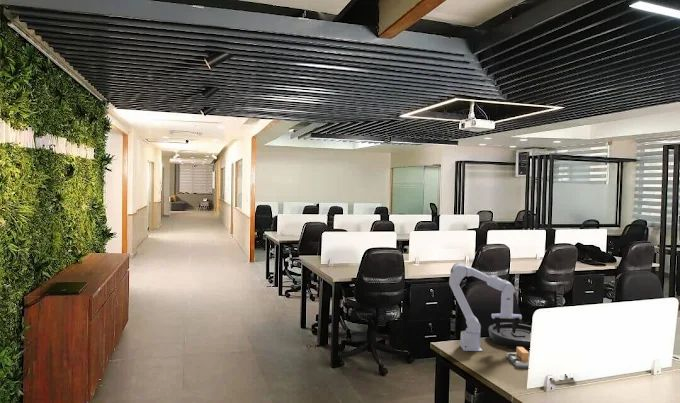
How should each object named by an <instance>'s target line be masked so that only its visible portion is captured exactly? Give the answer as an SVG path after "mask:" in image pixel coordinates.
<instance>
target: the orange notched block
mask: <svg viewBox="0 0 680 403" xmlns="http://www.w3.org/2000/svg"><path fill="white" fill-rule="evenodd" d="M515 350H516V352H515V353H516V356H520V357H521V361H528V359H529V356H530V353H529V350H525V349H524V348H523V347H517V348H516V349H515Z"/></svg>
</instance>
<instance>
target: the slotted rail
mask: <svg viewBox="0 0 680 403" xmlns="http://www.w3.org/2000/svg"><path fill="white" fill-rule="evenodd" d="M506 358H507V359H508V360H509V361H510V363H512V364H513V366H514V367H515V368H516V369H529V368H528V361H521V357H520V356H516V352H509V351H508V352H507V353H506Z"/></svg>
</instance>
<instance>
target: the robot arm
mask: <svg viewBox="0 0 680 403" xmlns="http://www.w3.org/2000/svg"><path fill="white" fill-rule="evenodd" d="M465 277H474V278H477V279H479V280H481V281H483V282H486V284H487V286H489V287H491V288H493V289H494V290H498V291H499V292H500V291H501V296H500V313H499V312H498V313H491V318H492V320H493V321H494V324H496V328H497V332H498V333H500V323H502V322H501V319H507V320H508V319H509V320H511V323H512V332H513V333H515V331H516V328H517V326H518V324H521V320H522V318H523V316H522V314H519V313H513V312H514V294H515V291H516V289H515V286H514V285H513V284H512V283H511V282H510V281H509V280H507V279H502V278H500V277H499V276H498V275H496V274H494V275H493V274H491V275H488V274H486V273H483V272H482V271H479V270H478V269H477V268H473V267H471V266H469V265H466V264H463V263H461V262H456V263H454V264H453V265H452V267H451V269H450V275H449V278H448V279H449V280H448V283H449V284H448V285H449V287H450V289H451V291H452V293H453V295H454V297H455V299H456V301H457V303H458V305H459V308H460V309H461V312H462V314H463V316H464V318H465V323H466V326H467V327H466V328H465V330H462V331H461V330H460V341H459V342H460V343H459V346H460V347H461V349H462V351H463V352H483V349H482V348H481V329H482V325H481V323H480V322H479V319H478V318H477V317H476V316H475V315H474V313H473V311H472V308H471V306H470V305H469V302H468V301H467V299H466V296H465V294H464V292H463V290H462V288H461V286H460V284H461V282H462V280H463V279H465Z"/></svg>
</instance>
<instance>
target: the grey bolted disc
mask: <svg viewBox="0 0 680 403" xmlns="http://www.w3.org/2000/svg"><path fill="white" fill-rule="evenodd" d="M531 326H532V325H529V324H524V323H519V324H518V326H517V328H516V331H515V333H513V332H512V322H500V333H498V332H497V328H496V324H495V323H493V324H491V325H489V326H488V333H489V334H488V335H489V337H490V339H491V340H492V342H493V343H496V344H497V345H500V346H501V347H505V348H508V349H512V350H516V348H517V347H523V348H524V349H525V350H527V351H530V350H529V348H530V331H531Z"/></svg>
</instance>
